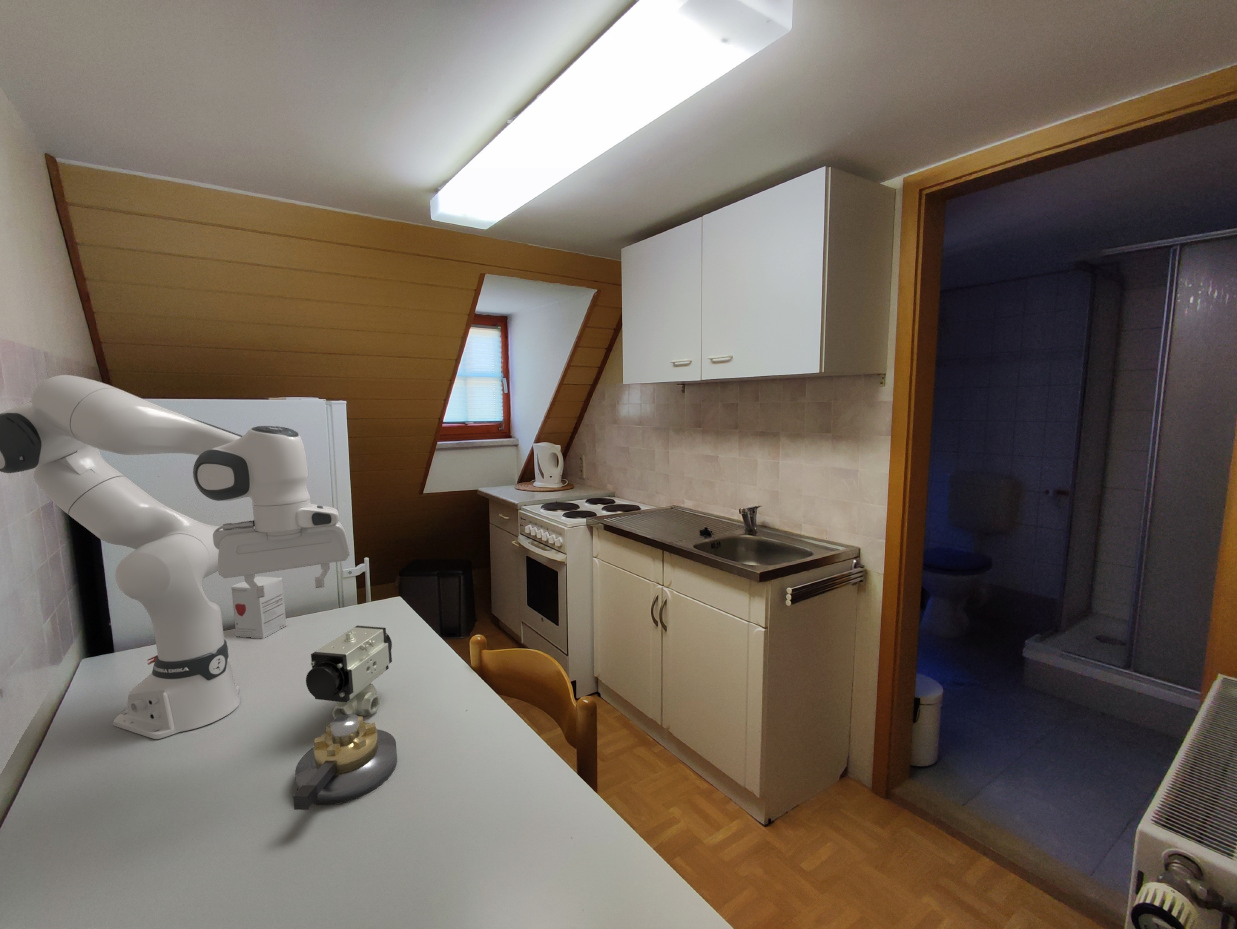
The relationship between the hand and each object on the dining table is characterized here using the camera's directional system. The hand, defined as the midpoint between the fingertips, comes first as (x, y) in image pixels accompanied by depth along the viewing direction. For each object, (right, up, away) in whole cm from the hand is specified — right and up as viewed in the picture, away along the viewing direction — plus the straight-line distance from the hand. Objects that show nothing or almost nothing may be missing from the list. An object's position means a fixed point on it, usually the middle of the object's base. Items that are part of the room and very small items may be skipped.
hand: (290, 591), depth 99 cm
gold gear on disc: (+12, -31, -2) cm, 34 cm away
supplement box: (-43, -25, +58) cm, 76 cm away
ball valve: (+5, -29, +16) cm, 34 cm away
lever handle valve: (+11, -29, -7) cm, 32 cm away
